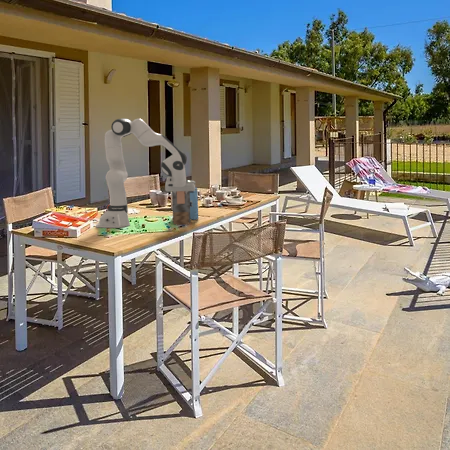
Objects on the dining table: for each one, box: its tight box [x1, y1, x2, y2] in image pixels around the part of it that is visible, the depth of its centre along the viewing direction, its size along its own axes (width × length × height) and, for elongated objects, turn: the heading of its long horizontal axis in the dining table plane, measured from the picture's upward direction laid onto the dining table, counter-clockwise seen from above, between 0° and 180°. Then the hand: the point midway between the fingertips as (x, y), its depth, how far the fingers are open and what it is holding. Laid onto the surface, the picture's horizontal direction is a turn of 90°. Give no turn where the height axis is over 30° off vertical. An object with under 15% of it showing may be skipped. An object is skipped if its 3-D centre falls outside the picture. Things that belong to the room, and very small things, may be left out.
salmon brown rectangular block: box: [177, 191, 185, 204], centre depth 344 cm, size 5×4×12 cm
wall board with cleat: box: [171, 191, 191, 226], centre depth 345 cm, size 12×9×25 cm
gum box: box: [190, 186, 199, 220], centre depth 366 cm, size 20×5×23 cm, turn 56°
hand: (180, 193), depth 345 cm, fingers closed on salmon brown rectangular block, 5 cm apart
